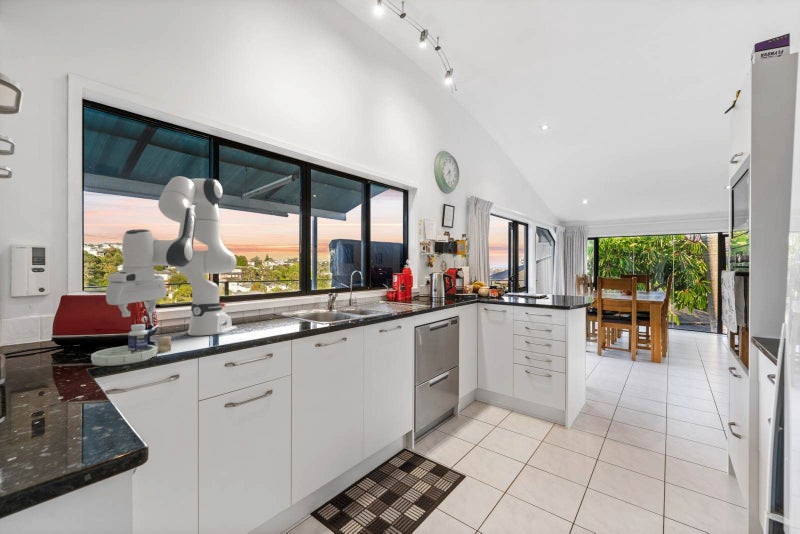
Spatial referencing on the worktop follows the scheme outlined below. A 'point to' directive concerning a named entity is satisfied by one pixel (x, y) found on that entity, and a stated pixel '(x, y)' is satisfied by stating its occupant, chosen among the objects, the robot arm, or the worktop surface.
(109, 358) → the dish
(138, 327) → the pill bottle
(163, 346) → the beech bead
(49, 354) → the worktop surface
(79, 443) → the worktop surface
